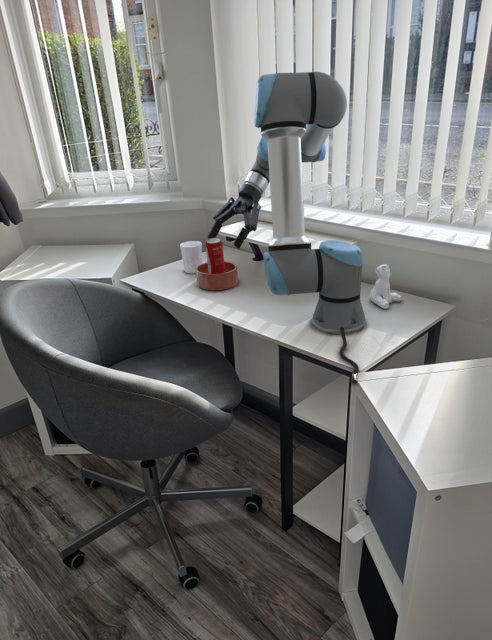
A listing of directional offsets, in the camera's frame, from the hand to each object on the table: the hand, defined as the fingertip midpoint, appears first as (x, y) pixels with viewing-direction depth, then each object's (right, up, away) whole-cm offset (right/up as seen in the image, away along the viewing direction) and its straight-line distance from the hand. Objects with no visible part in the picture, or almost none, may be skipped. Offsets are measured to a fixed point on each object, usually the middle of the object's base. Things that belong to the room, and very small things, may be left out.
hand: (222, 243), depth 184 cm
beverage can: (-2, -13, +5) cm, 14 cm away
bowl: (-2, -13, +5) cm, 14 cm away
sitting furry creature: (+51, -23, -14) cm, 58 cm away
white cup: (-12, -5, +19) cm, 23 cm away
